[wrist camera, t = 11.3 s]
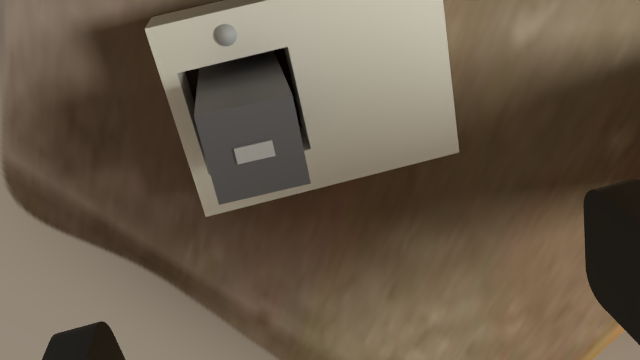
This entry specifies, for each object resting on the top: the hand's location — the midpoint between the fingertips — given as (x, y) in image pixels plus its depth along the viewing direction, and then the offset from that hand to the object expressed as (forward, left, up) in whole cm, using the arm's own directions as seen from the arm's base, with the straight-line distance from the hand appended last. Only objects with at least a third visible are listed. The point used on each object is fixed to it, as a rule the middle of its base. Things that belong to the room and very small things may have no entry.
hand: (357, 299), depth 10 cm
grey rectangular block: (+2, +3, -24) cm, 24 cm away
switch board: (-2, +3, -24) cm, 24 cm away
